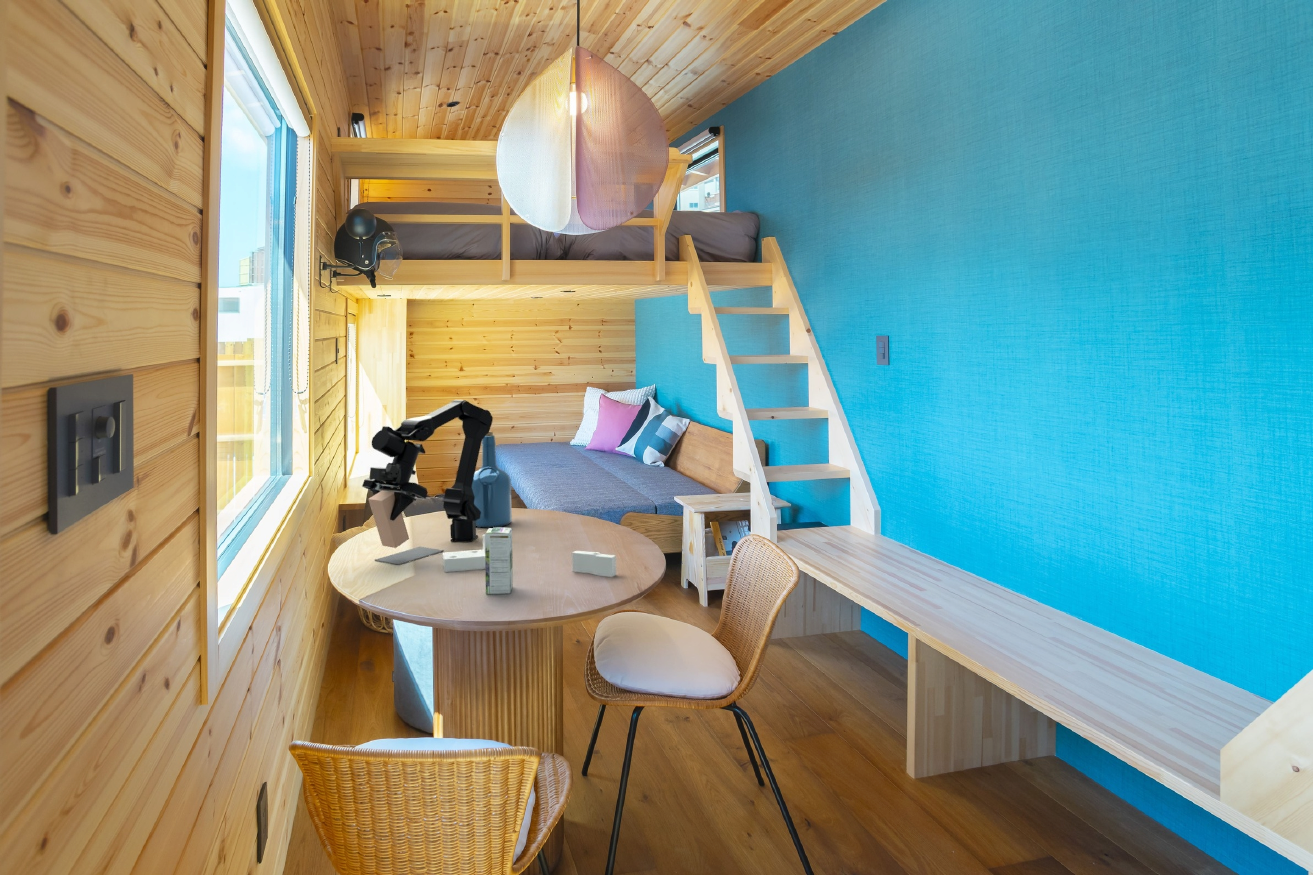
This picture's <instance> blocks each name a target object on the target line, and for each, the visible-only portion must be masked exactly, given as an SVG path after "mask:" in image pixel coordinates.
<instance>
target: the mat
mask: <svg viewBox="0 0 1313 875" xmlns="http://www.w3.org/2000/svg"><path fill="white" fill-rule="evenodd" d="M439 553H444V549H438V548H432V547H425V546H417V547H413V548H410V549H406V550H404V551H400V552H397V553H396V552H395V553H392V554H390V555H386V556H383V557H379V558H375V559H374V561H375V562H380V563H386V564H391V565H395V564H397V565H396V566H401V565H404V564H407V563H410V562H409V561H411V562H414V561H417V560H420V559H423V558H425V557H426V556H427V557H429V555H430V556H433V555H436V554H439ZM416 559H417V560H416ZM413 560H414V561H413ZM400 564H401V565H400Z"/></svg>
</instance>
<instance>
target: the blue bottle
mask: <svg viewBox="0 0 1313 875" xmlns="http://www.w3.org/2000/svg"><path fill="white" fill-rule="evenodd" d="M493 433H494V431H492V430H489V432H488V434H487V435H486V436H485V437H484V438H483V439H482V442H481V447H482V448H481V449H482V451H481V452H482V453H481V454H482V455H481V456H482V457H481V460H482V461H481V462H482V463H481V467H480V468H479V469H478V470H475V474H474V478H473V483H472V490H473V493H474V496H475V499H474V505H475V506H476V507H477V508H478V509H479V510H480V511H481V515H480V519H477V520H476V526H477V527H476V528H481V527H488V528H487V529H489V527H493V528H496V527H503V526H507V525H509V524H511V522H512V520H513V519H512V517H513V515H512V512H513V511H512V510H513V509H512V482H511V481H512V480H511V477H510V475H509V473H507V472H506V471H505V470H503V469H501V468H499V467H498V466H497V457H496V456H497V454H496V446H497V445H496V439H495V438H496V437H495V435H494V434H493Z"/></svg>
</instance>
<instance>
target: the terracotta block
mask: <svg viewBox="0 0 1313 875" xmlns="http://www.w3.org/2000/svg"><path fill="white" fill-rule="evenodd" d="M367 500H368V503H369V507H370V508H371V509H370V510H371V513H372V515H373V519H374V523H375V526H376V528H377V532H378V536H379V539H380V542H381V546H382V547H387V548H388V547H389V548H394V549H396V548H398V547H400V546H401V545H403V544H404V543H406V542H407V541H408V540H410V537H409V536H410V535H409V534H408V533H409V532H408V529H407V525H406V523H405V522H406V521H405V519H404V515H403V512H402V513H401V514H400V515H399V516H398V517H397V518H396V519H395V520H394V521H392V520H390V517H391V512H392V509H393V506H394V502H395V495H394V491H383V490H382V491H380V492H379V493H377V494H375V495H374V494H373V495H372V496H370V497H369V498H368V499H367Z"/></svg>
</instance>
